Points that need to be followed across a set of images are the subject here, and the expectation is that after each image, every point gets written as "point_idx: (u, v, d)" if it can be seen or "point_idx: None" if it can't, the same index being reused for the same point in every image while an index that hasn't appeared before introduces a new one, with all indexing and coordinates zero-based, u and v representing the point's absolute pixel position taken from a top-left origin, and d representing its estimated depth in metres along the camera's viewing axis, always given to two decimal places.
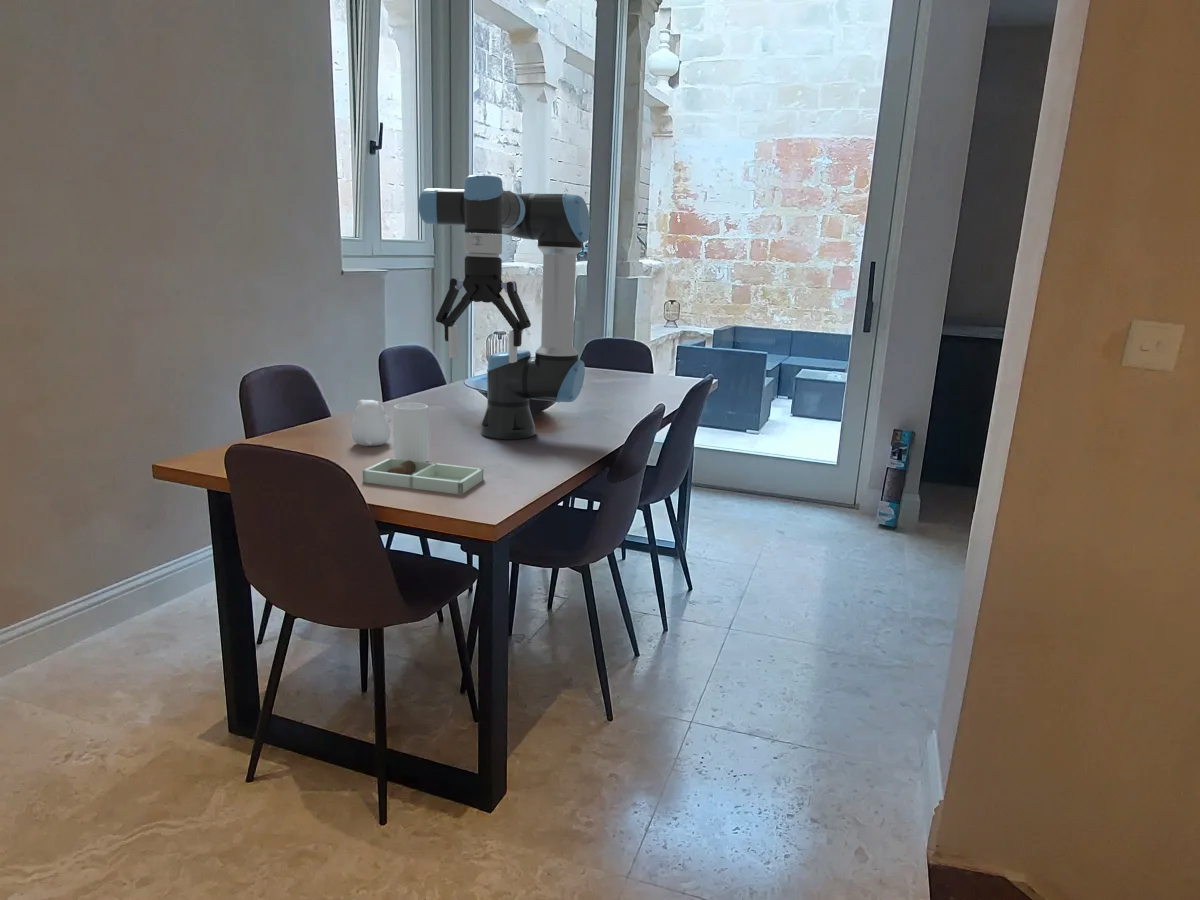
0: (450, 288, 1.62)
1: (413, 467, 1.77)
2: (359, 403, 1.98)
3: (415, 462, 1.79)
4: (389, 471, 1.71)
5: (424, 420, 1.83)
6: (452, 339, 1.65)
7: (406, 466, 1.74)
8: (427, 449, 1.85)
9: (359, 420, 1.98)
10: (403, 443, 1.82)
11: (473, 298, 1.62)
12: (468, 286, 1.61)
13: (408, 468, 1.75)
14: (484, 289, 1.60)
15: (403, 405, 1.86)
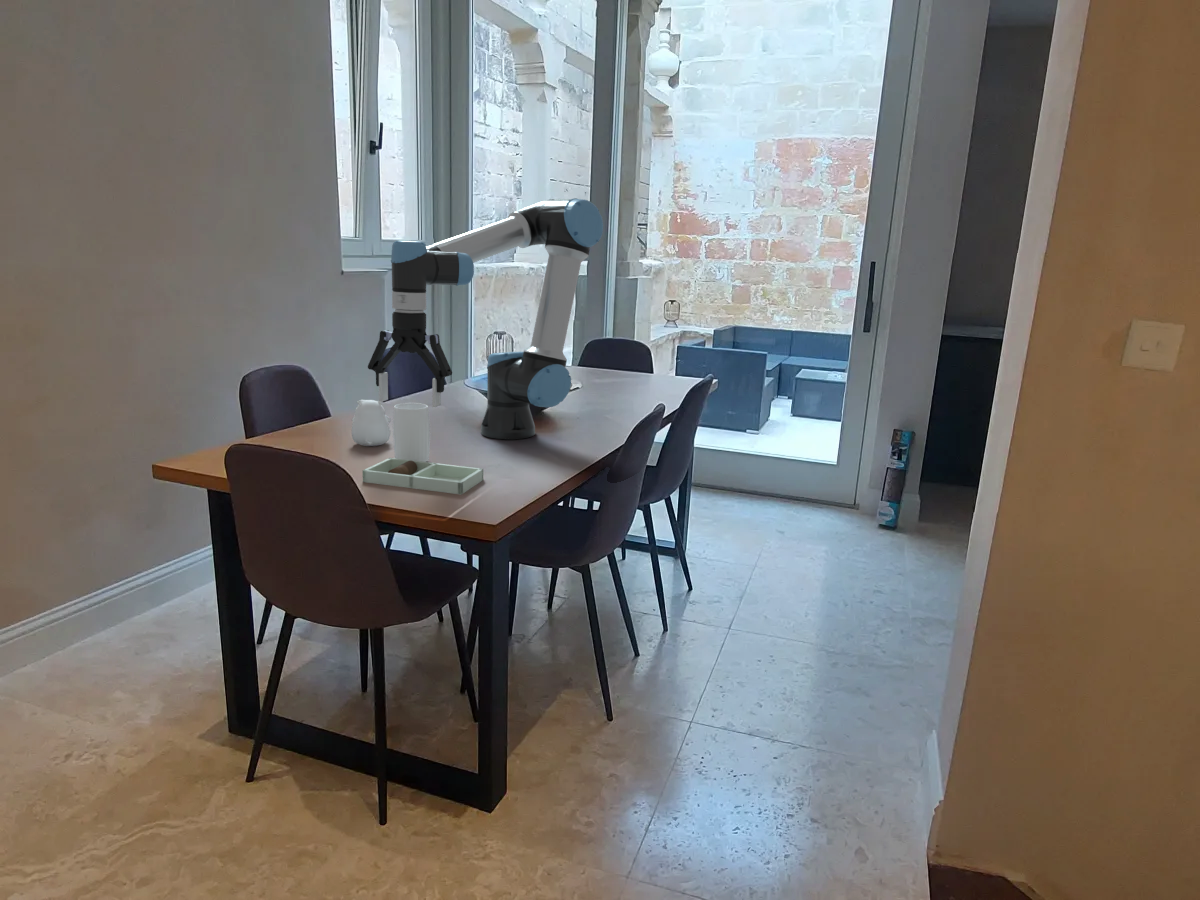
0: (380, 339, 1.80)
1: (415, 469, 1.77)
2: (359, 403, 1.98)
3: (415, 462, 1.79)
4: (392, 471, 1.70)
5: (424, 420, 1.83)
6: (382, 384, 1.83)
7: (408, 468, 1.74)
8: (427, 449, 1.85)
9: (359, 420, 1.98)
10: (403, 443, 1.82)
11: (400, 349, 1.80)
12: (396, 338, 1.79)
13: (410, 470, 1.75)
14: (409, 341, 1.78)
15: (403, 405, 1.86)
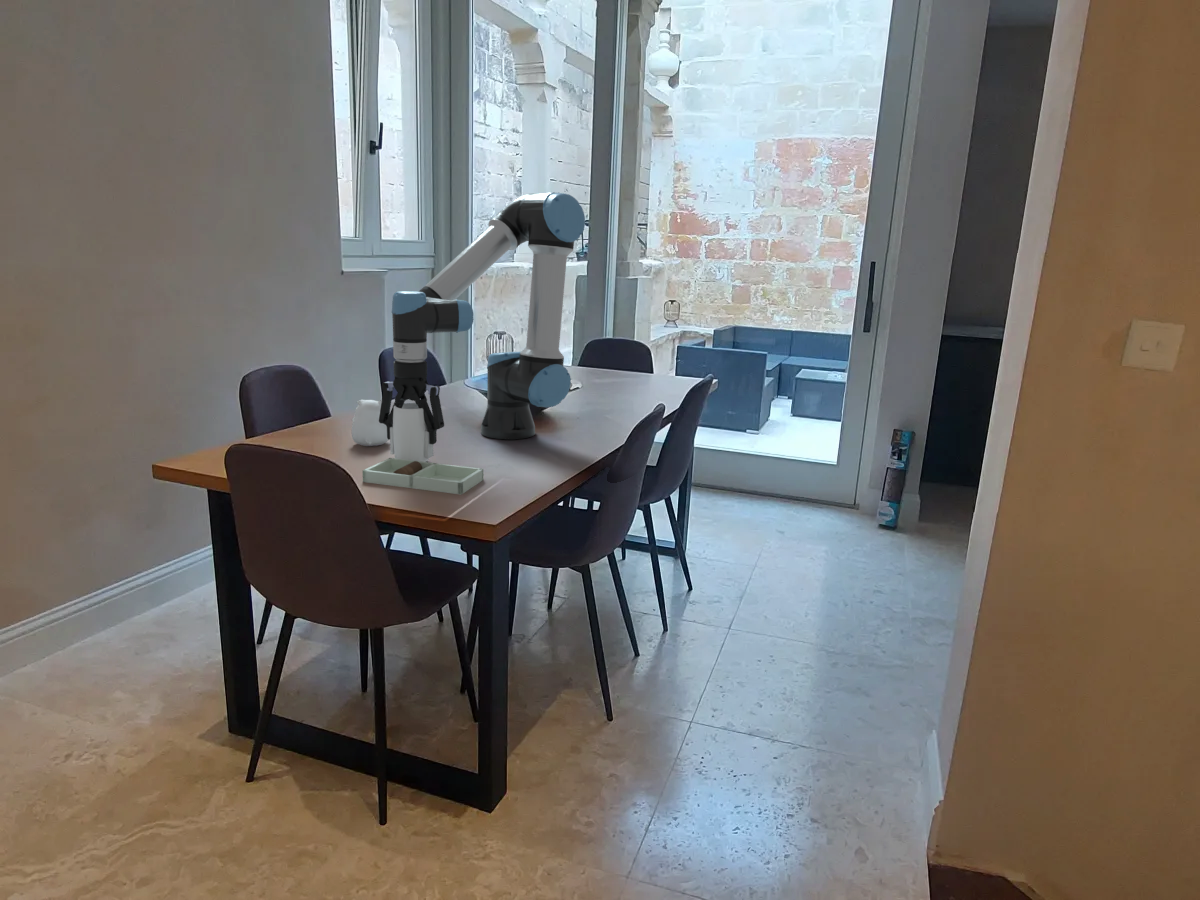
0: (383, 391, 1.83)
1: None
2: (359, 403, 1.98)
3: None
4: (400, 473, 1.70)
5: None
6: None
7: (414, 473, 1.74)
8: None
9: (359, 420, 1.98)
10: (403, 443, 1.82)
11: (402, 396, 1.83)
12: (398, 386, 1.82)
13: None
14: (411, 389, 1.81)
15: (403, 405, 1.86)
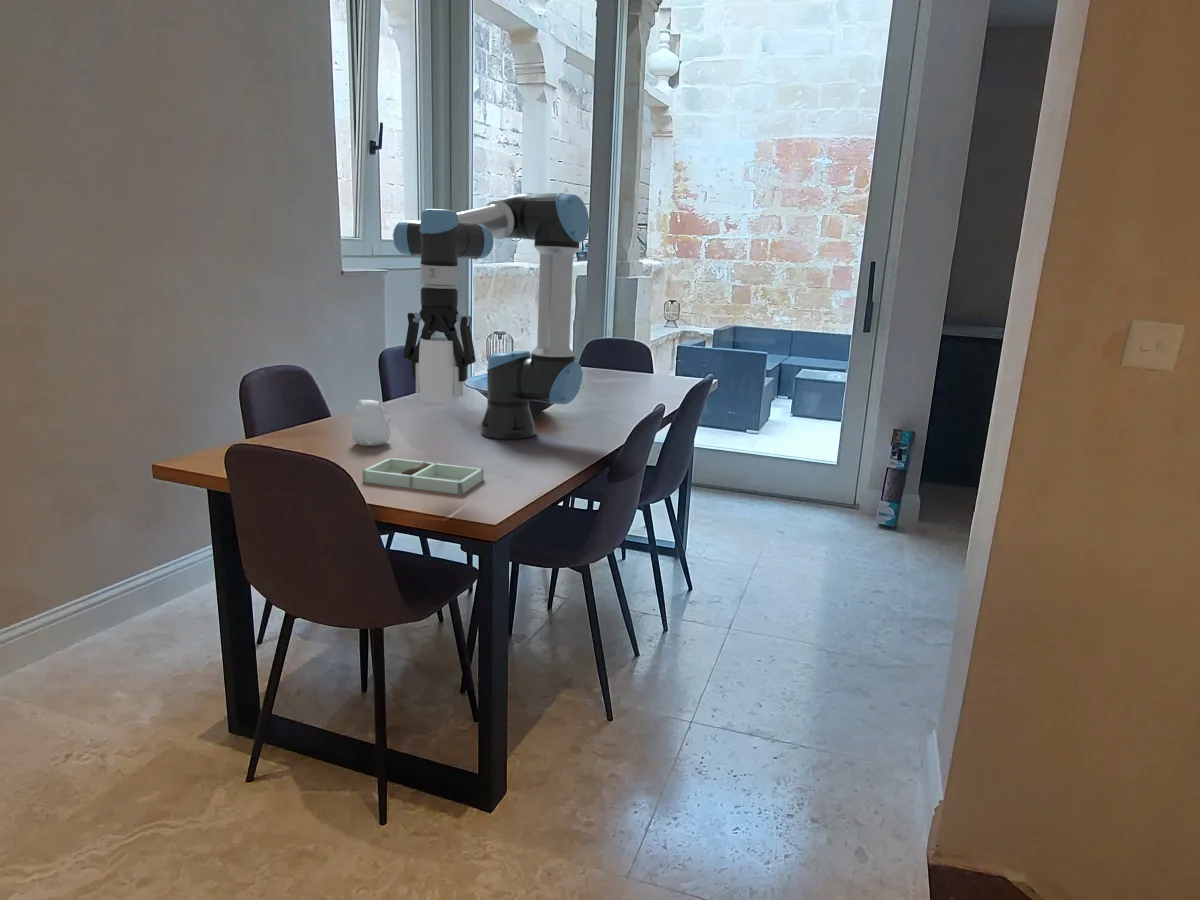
0: (409, 322, 1.66)
1: None
2: (359, 403, 1.98)
3: (415, 462, 1.79)
4: None
5: (453, 354, 1.65)
6: None
7: None
8: None
9: (359, 420, 1.98)
10: (430, 379, 1.64)
11: (429, 328, 1.65)
12: (425, 316, 1.65)
13: None
14: (439, 319, 1.63)
15: (430, 339, 1.69)
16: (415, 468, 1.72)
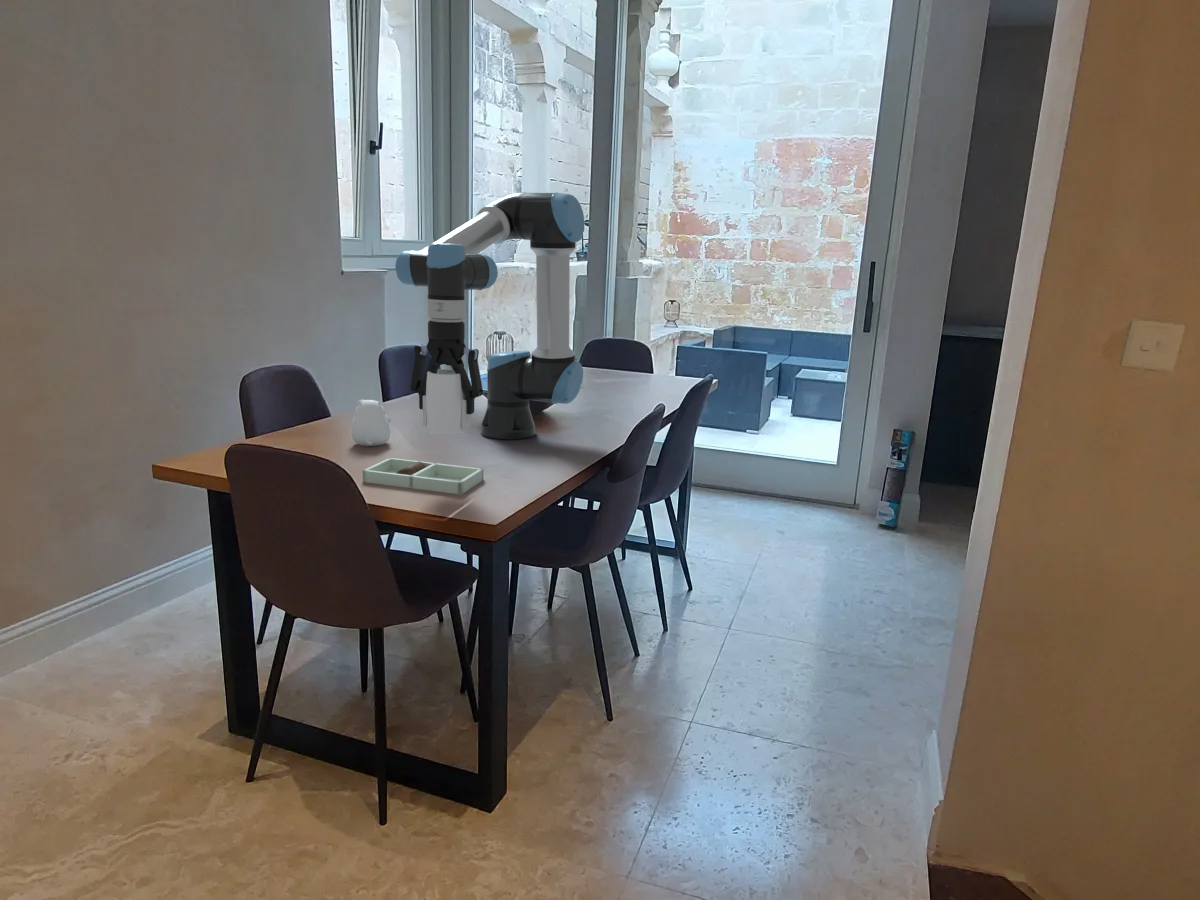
0: (416, 355, 1.66)
1: None
2: (359, 403, 1.98)
3: None
4: None
5: None
6: None
7: None
8: None
9: (359, 420, 1.98)
10: (438, 412, 1.64)
11: (436, 361, 1.65)
12: (432, 349, 1.64)
13: None
14: (447, 353, 1.63)
15: (437, 371, 1.68)
16: None
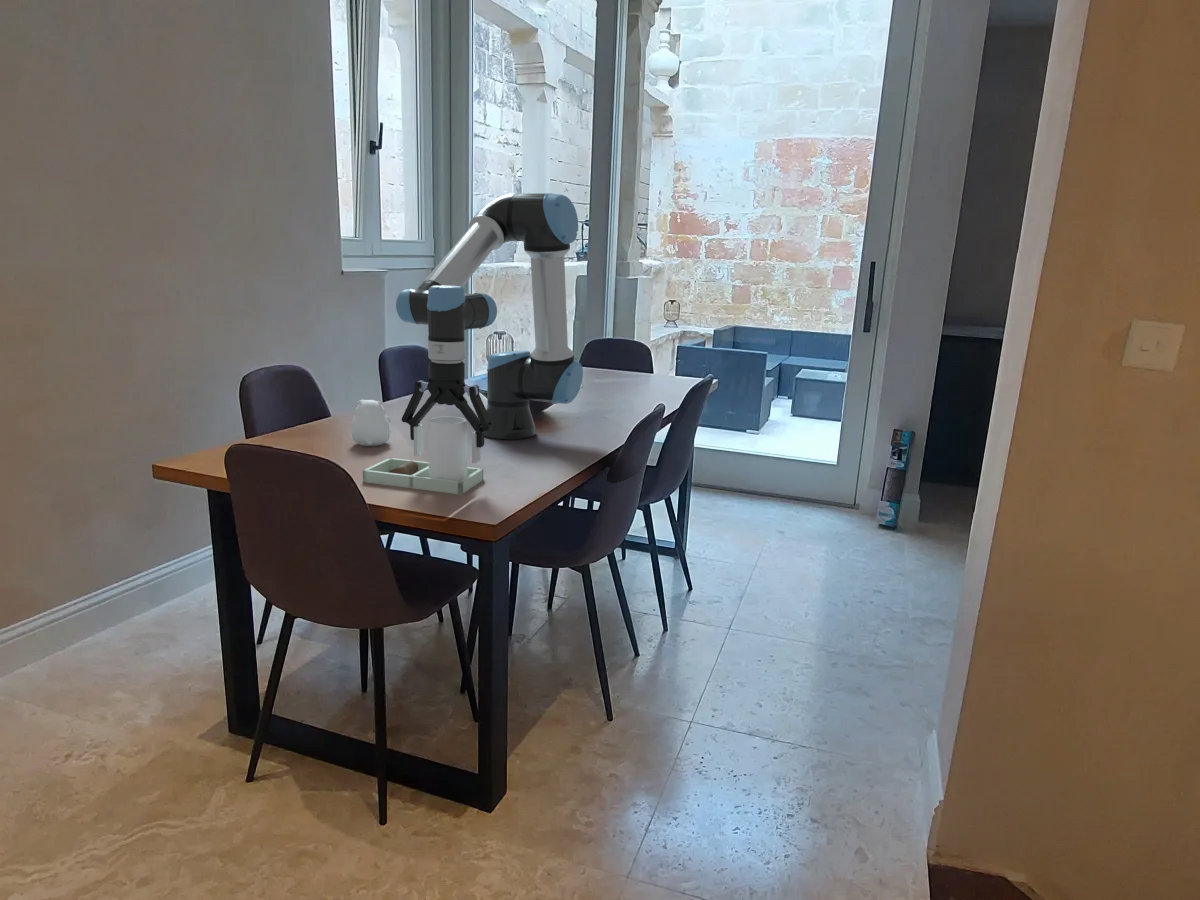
0: (415, 390, 1.68)
1: (415, 470, 1.77)
2: (359, 403, 1.98)
3: None
4: (393, 471, 1.70)
5: (462, 436, 1.67)
6: (417, 438, 1.70)
7: (409, 468, 1.74)
8: (465, 467, 1.70)
9: (359, 420, 1.98)
10: (439, 461, 1.67)
11: (437, 401, 1.67)
12: (432, 389, 1.67)
13: (411, 470, 1.75)
14: (447, 393, 1.65)
15: (439, 419, 1.71)
16: None
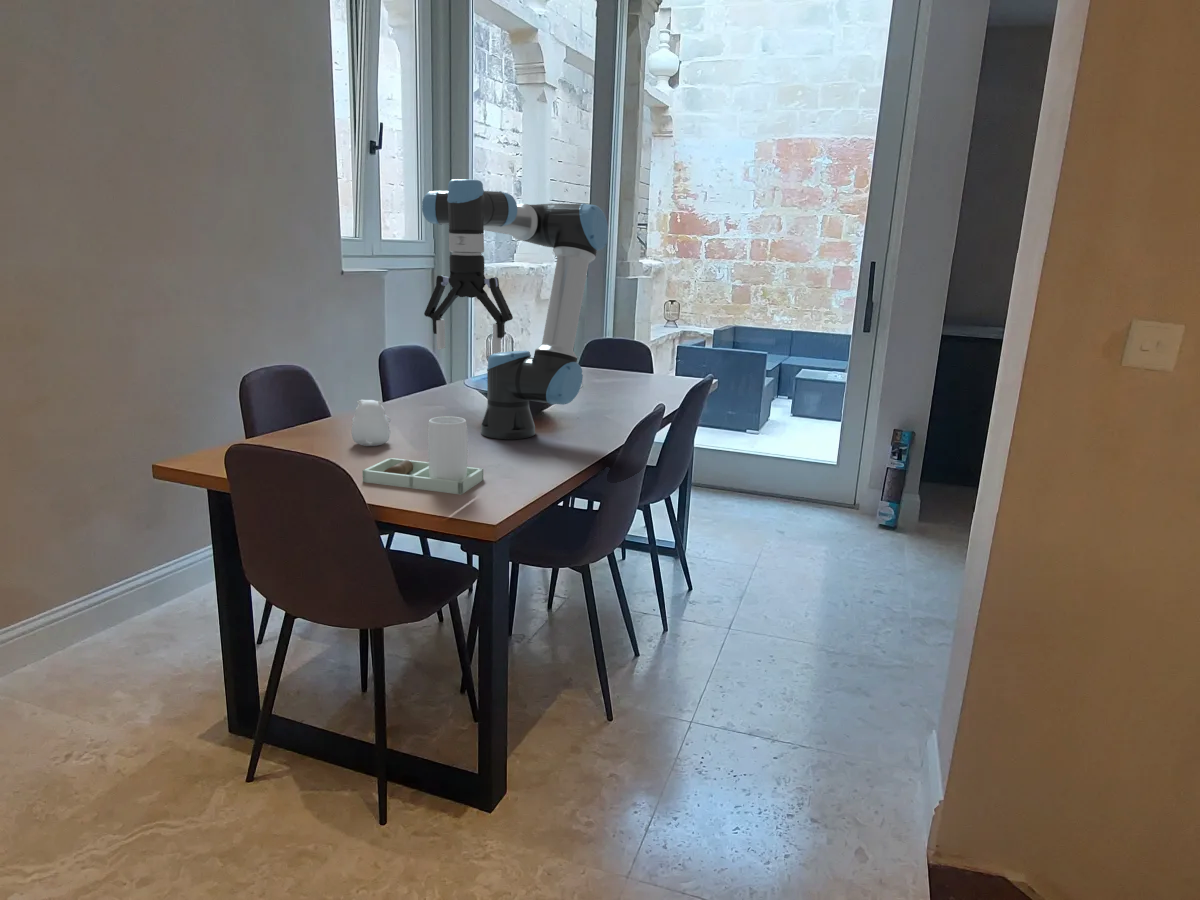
0: (436, 284, 1.74)
1: (409, 464, 1.77)
2: (359, 403, 1.98)
3: (415, 462, 1.79)
4: None
5: (462, 436, 1.67)
6: (440, 332, 1.78)
7: (401, 464, 1.75)
8: (465, 467, 1.70)
9: (359, 420, 1.98)
10: (439, 461, 1.67)
11: (458, 293, 1.74)
12: (453, 282, 1.73)
13: (404, 465, 1.75)
14: (468, 285, 1.72)
15: (438, 419, 1.71)
16: None
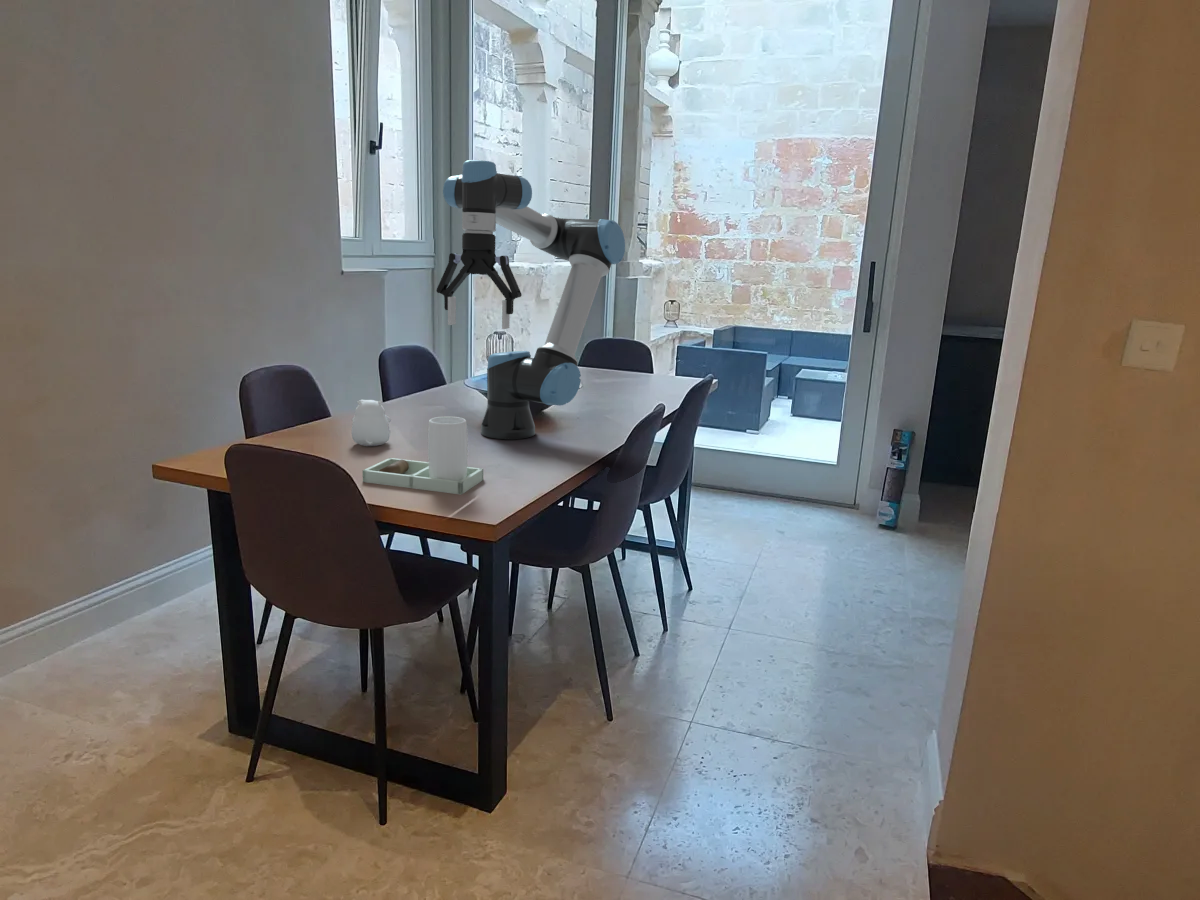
0: (449, 262, 1.81)
1: (401, 461, 1.77)
2: (359, 403, 1.98)
3: (415, 462, 1.79)
4: None
5: (462, 436, 1.67)
6: (451, 308, 1.84)
7: None
8: (465, 467, 1.70)
9: (359, 420, 1.98)
10: (439, 461, 1.67)
11: (470, 271, 1.81)
12: (465, 260, 1.80)
13: (396, 462, 1.75)
14: (480, 262, 1.79)
15: (438, 419, 1.71)
16: None
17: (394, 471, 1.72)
